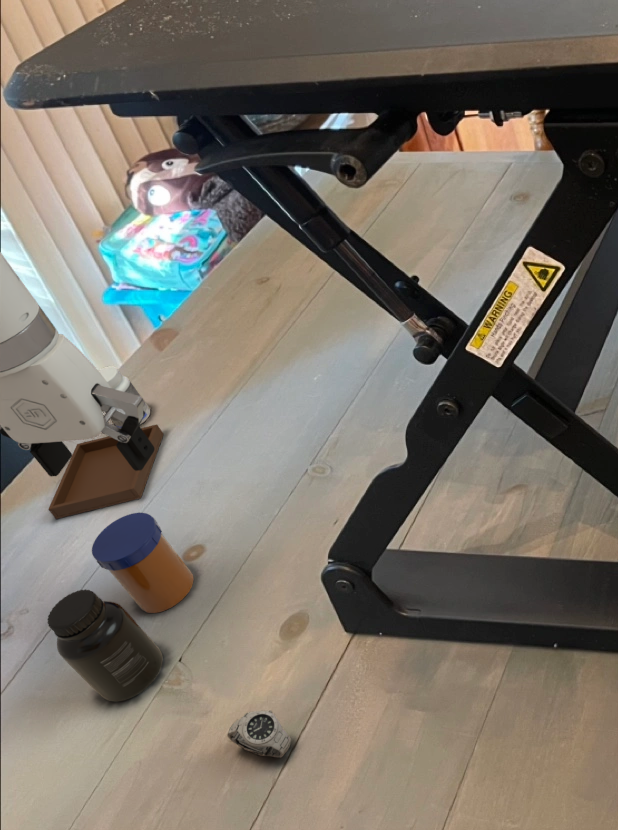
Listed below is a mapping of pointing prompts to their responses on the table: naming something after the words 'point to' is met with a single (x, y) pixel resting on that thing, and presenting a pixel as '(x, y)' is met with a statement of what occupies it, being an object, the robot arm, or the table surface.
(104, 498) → the walnut tray
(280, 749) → the wristwatch
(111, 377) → the pill bottle
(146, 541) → the jar lid
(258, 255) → the table surface
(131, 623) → the supplement bottle
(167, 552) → the jam jar
